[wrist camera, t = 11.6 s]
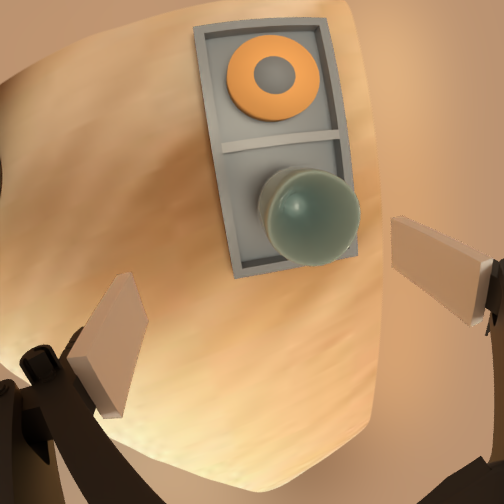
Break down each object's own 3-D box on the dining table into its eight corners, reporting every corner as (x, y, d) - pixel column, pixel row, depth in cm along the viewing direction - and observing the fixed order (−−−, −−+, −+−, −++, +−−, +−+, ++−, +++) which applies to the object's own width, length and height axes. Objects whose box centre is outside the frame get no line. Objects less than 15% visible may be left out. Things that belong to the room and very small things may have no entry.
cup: (269, 152, 31) (290, 153, 22) (333, 181, 33) (375, 194, 24) (241, 220, 33) (250, 248, 24) (305, 245, 35) (336, 279, 26)
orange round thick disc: (208, 84, 29) (207, 77, 26) (265, 29, 27) (270, 18, 24) (273, 139, 31) (279, 137, 28) (327, 83, 30) (337, 76, 27)
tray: (194, 35, 27) (193, 26, 25) (319, 25, 28) (326, 17, 25) (233, 270, 36) (234, 279, 33) (349, 249, 36) (358, 255, 34)
